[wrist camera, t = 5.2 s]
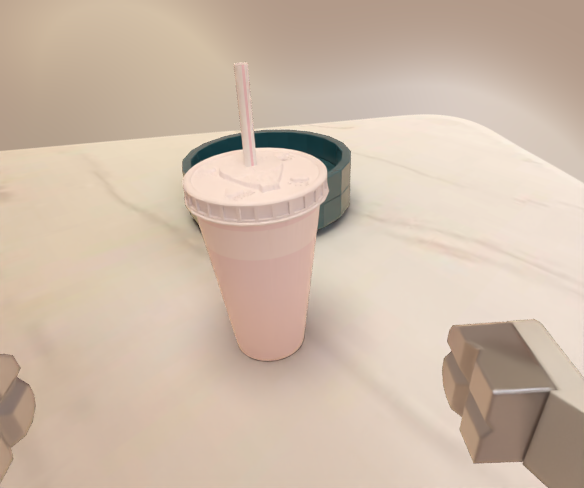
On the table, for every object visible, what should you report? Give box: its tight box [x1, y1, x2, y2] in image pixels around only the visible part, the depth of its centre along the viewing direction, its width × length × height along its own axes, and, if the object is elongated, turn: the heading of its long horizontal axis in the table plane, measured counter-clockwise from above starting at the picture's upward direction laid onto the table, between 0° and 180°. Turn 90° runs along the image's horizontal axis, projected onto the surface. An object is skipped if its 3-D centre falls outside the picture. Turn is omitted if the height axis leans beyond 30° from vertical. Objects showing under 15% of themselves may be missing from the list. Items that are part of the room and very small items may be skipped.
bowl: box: [182, 130, 351, 230], centre depth 37 cm, size 13×13×4 cm
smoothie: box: [182, 63, 329, 361], centre depth 21 cm, size 6×6×14 cm
